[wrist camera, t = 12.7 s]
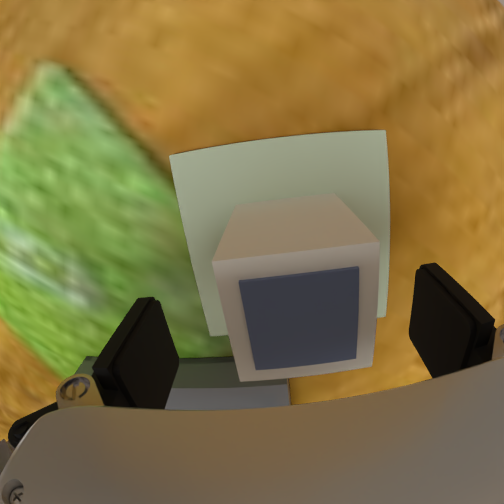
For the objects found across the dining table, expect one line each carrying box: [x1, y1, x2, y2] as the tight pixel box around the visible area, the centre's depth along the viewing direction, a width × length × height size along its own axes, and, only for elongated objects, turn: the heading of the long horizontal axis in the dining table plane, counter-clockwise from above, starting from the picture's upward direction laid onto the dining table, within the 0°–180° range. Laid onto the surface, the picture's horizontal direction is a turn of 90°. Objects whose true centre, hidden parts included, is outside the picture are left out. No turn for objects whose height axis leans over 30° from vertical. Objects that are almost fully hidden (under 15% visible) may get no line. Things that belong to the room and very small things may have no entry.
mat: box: [169, 130, 390, 336], centre depth 17 cm, size 11×11×1 cm
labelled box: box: [212, 193, 380, 382], centre depth 13 cm, size 5×5×7 cm
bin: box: [74, 356, 291, 410], centre depth 22 cm, size 16×16×3 cm
